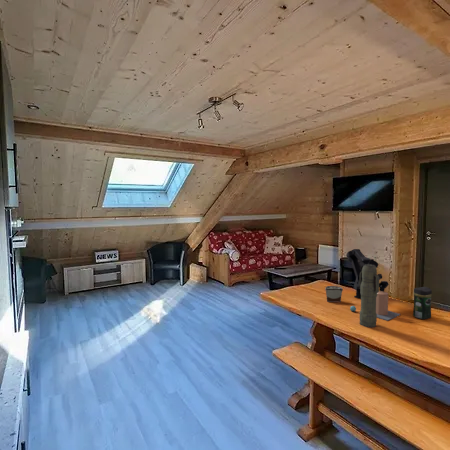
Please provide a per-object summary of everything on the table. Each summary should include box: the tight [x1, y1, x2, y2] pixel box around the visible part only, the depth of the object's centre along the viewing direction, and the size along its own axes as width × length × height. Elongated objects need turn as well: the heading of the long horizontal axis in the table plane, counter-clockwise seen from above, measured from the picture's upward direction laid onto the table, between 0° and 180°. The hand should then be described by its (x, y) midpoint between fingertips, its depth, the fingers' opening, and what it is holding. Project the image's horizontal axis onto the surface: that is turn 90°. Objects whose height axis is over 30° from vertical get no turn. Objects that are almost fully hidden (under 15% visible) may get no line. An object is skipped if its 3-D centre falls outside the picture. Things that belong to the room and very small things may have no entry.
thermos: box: [359, 264, 380, 328], centre depth 173 cm, size 9×12×35 cm
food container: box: [324, 285, 344, 303], centre depth 216 cm, size 12×6×10 cm, turn 84°
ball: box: [349, 305, 357, 312], centre depth 195 cm, size 4×4×4 cm
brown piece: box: [376, 290, 389, 315], centre depth 189 cm, size 7×7×13 cm
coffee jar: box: [412, 286, 433, 320], centre depth 184 cm, size 10×8×19 cm
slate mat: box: [377, 310, 401, 322], centre depth 190 cm, size 16×16×1 cm
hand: (376, 296), depth 197 cm, fingers open, 9 cm apart
